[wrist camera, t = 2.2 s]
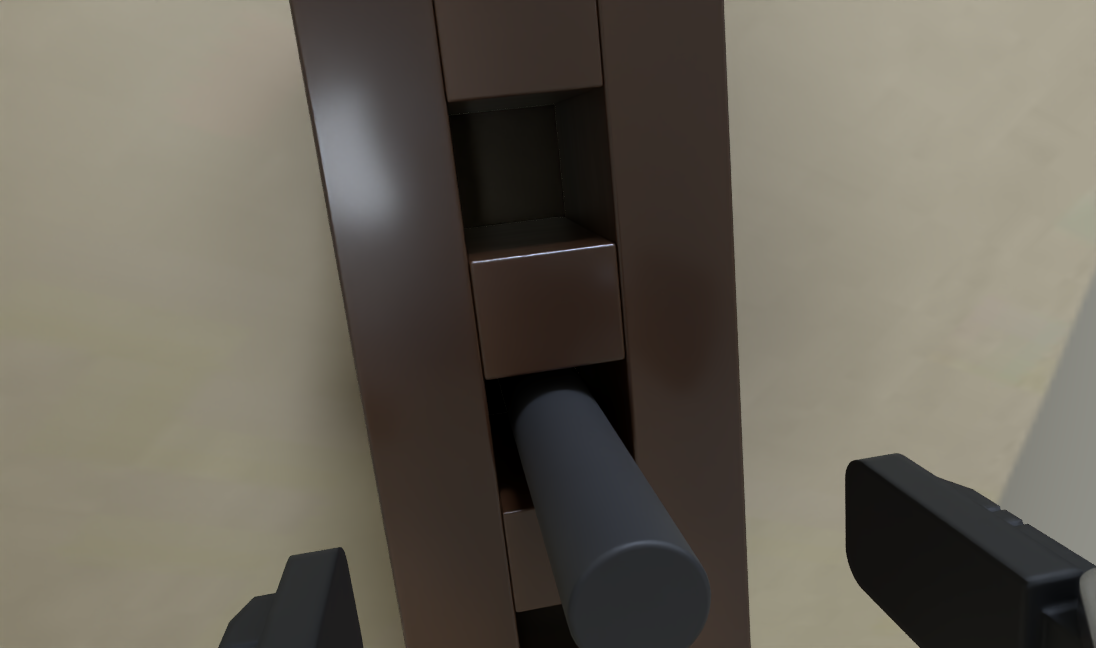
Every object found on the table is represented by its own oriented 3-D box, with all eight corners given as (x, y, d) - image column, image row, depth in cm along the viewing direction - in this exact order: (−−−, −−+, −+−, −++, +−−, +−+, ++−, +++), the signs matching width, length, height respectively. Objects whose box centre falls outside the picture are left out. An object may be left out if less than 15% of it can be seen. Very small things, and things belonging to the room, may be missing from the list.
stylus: (489, 330, 21) (560, 558, 9) (558, 321, 21) (709, 529, 10) (497, 396, 21) (576, 688, 10) (564, 386, 22) (717, 659, 10)
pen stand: (436, 662, 23) (438, 833, 17) (329, 24, 18) (282, -33, 13) (679, 614, 24) (757, 761, 18) (636, -3, 19) (722, -67, 14)
